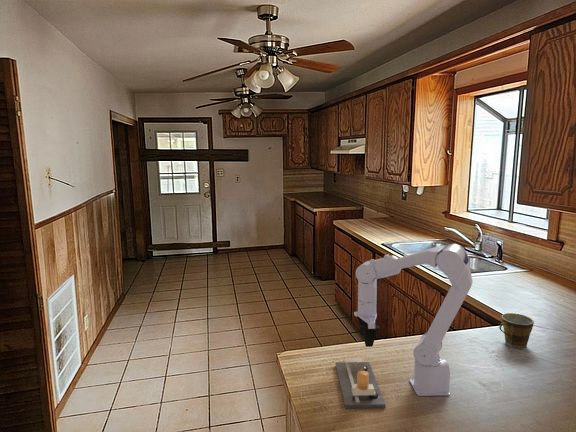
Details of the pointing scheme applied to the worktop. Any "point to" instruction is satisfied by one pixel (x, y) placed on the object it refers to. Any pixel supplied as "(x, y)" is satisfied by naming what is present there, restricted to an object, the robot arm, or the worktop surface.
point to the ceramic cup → (516, 329)
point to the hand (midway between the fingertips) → (366, 340)
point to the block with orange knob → (362, 385)
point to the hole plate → (349, 377)
